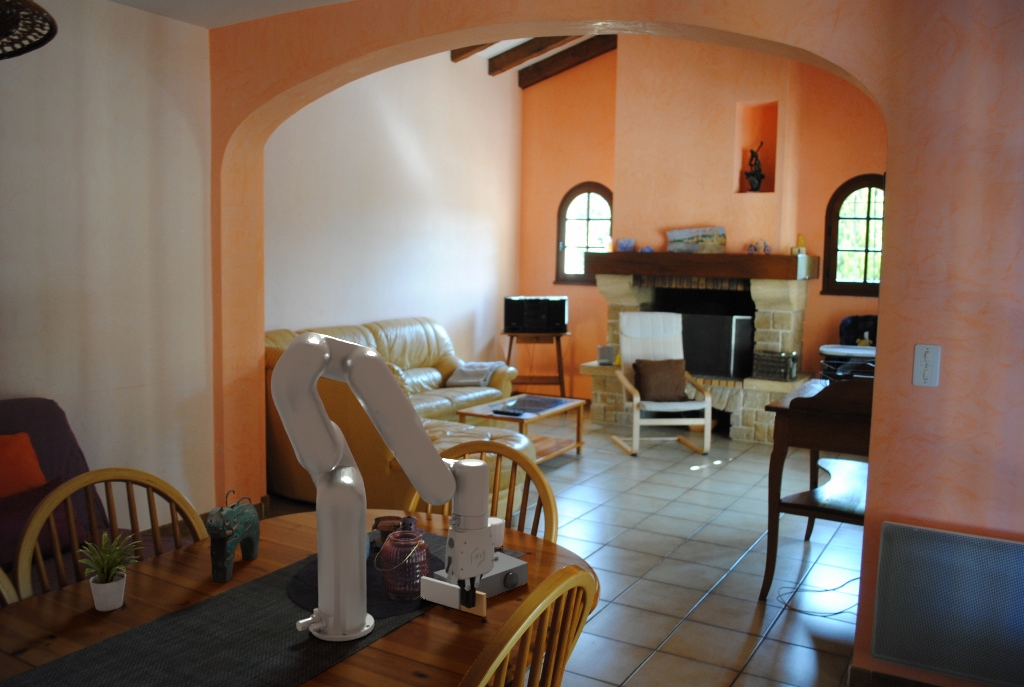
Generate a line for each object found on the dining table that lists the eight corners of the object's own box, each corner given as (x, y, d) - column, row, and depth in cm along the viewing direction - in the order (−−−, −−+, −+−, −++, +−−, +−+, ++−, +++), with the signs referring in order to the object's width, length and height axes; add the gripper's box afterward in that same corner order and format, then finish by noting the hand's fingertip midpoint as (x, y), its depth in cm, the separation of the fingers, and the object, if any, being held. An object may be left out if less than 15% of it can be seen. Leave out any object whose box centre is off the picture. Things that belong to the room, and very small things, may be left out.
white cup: (504, 551, 218) (504, 524, 217) (477, 550, 218) (477, 524, 217) (505, 542, 224) (505, 516, 224) (479, 541, 225) (479, 515, 224)
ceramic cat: (226, 586, 193) (224, 500, 191) (200, 584, 194) (197, 498, 192) (265, 555, 213) (264, 477, 211) (241, 554, 214) (239, 476, 212)
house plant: (114, 626, 172) (111, 547, 171) (54, 619, 175) (51, 542, 173) (157, 598, 186) (154, 525, 185) (101, 592, 189) (98, 521, 187)
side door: (483, 616, 178) (483, 595, 177) (420, 598, 187) (420, 577, 186) (486, 614, 179) (486, 593, 178) (423, 596, 188) (423, 575, 187)
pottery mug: (364, 549, 220) (364, 517, 223) (383, 554, 228) (383, 523, 231) (404, 542, 216) (404, 510, 219) (422, 548, 224) (422, 517, 227)
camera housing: (465, 609, 182) (465, 584, 181) (432, 594, 190) (432, 570, 189) (531, 585, 196) (531, 561, 195) (498, 571, 204) (498, 549, 203)
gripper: (453, 531, 168) (451, 621, 169) (508, 517, 178) (506, 602, 180) (429, 522, 173) (428, 609, 175) (485, 509, 183) (483, 591, 185)
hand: (467, 605), depth 177 cm, fingers closed
